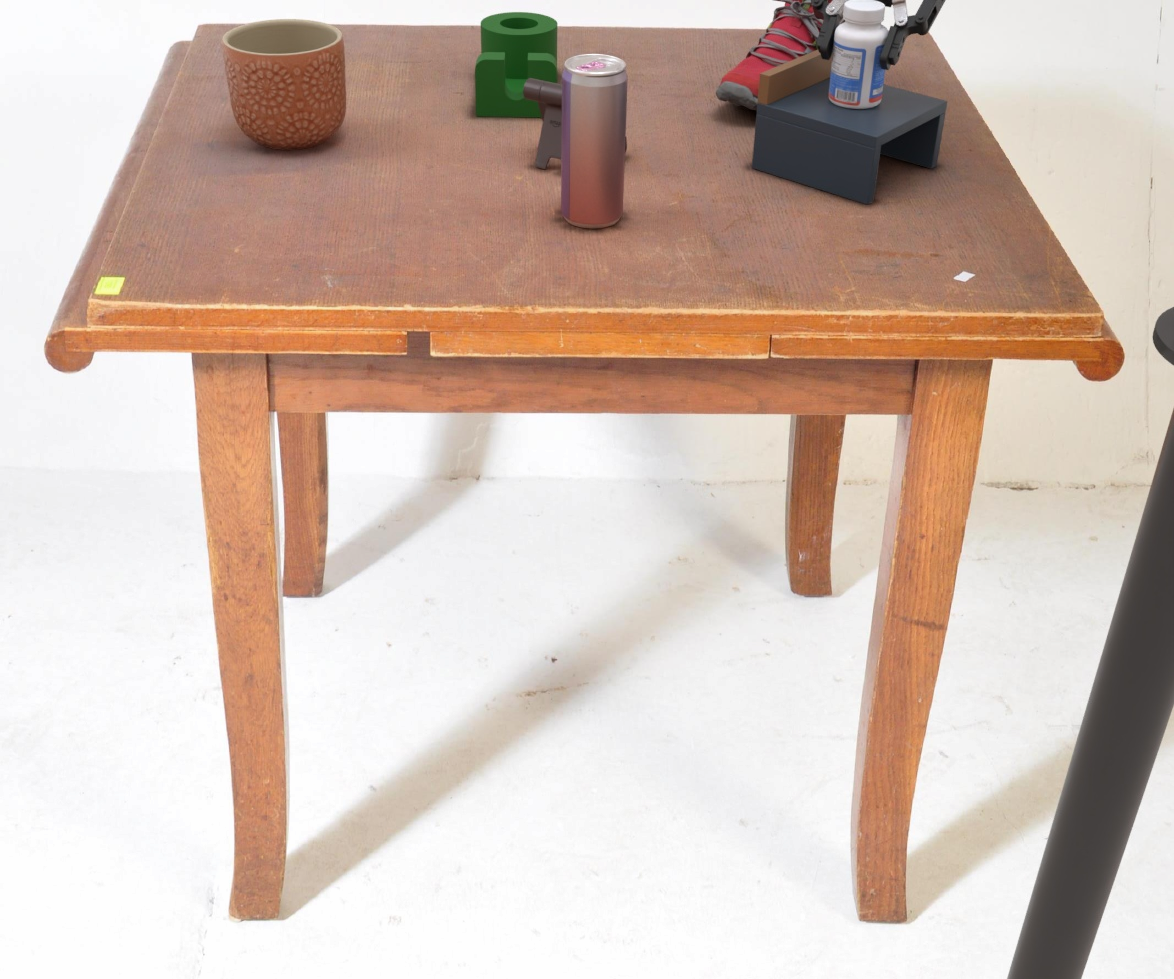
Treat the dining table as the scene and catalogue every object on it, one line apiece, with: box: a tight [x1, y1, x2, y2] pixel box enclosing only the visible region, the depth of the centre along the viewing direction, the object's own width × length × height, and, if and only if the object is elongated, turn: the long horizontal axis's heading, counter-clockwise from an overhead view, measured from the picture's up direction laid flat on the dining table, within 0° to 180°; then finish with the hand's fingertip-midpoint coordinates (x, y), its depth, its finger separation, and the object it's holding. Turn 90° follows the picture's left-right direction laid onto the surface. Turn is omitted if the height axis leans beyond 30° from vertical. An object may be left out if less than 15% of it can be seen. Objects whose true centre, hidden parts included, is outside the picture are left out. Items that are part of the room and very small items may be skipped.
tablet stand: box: [523, 78, 628, 170], centre depth 148 cm, size 9×8×8 cm
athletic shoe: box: [715, 0, 845, 112], centre depth 164 cm, size 12×25×12 cm, turn 128°
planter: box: [221, 18, 347, 151], centre depth 151 cm, size 12×12×11 cm
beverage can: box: [560, 53, 629, 230], centre depth 134 cm, size 6×6×15 cm
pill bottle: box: [829, 0, 889, 109], centre depth 144 cm, size 6×5×10 cm
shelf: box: [751, 50, 948, 205], centre depth 147 cm, size 14×14×10 cm
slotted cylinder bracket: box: [474, 11, 558, 118], centre depth 166 cm, size 18×9×6 cm, turn 1°
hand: (854, 60), depth 142 cm, fingers open, 5 cm apart
